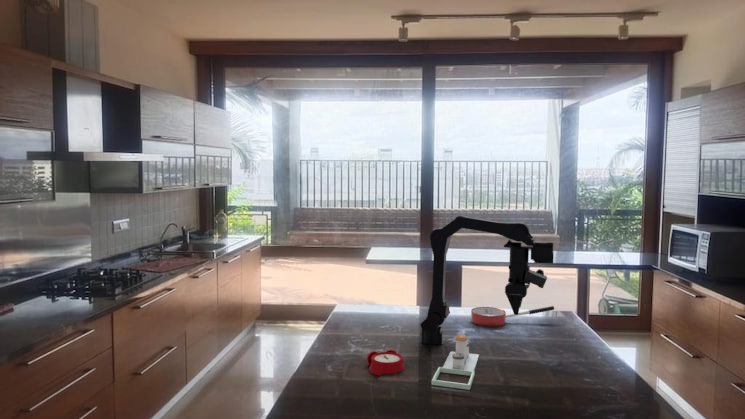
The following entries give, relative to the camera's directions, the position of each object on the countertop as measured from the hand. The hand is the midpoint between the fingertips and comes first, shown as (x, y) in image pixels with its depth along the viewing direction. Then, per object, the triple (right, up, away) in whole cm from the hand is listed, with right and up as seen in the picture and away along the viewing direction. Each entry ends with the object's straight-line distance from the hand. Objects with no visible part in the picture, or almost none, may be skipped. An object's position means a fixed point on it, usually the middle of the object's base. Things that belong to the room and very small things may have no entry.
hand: (517, 310), depth 164 cm
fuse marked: (-19, -14, -8) cm, 25 cm away
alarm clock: (-42, -15, -10) cm, 46 cm away
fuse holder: (-19, -15, -8) cm, 26 cm away
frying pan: (+9, -12, +39) cm, 41 cm away
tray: (-24, -16, -21) cm, 35 cm away
